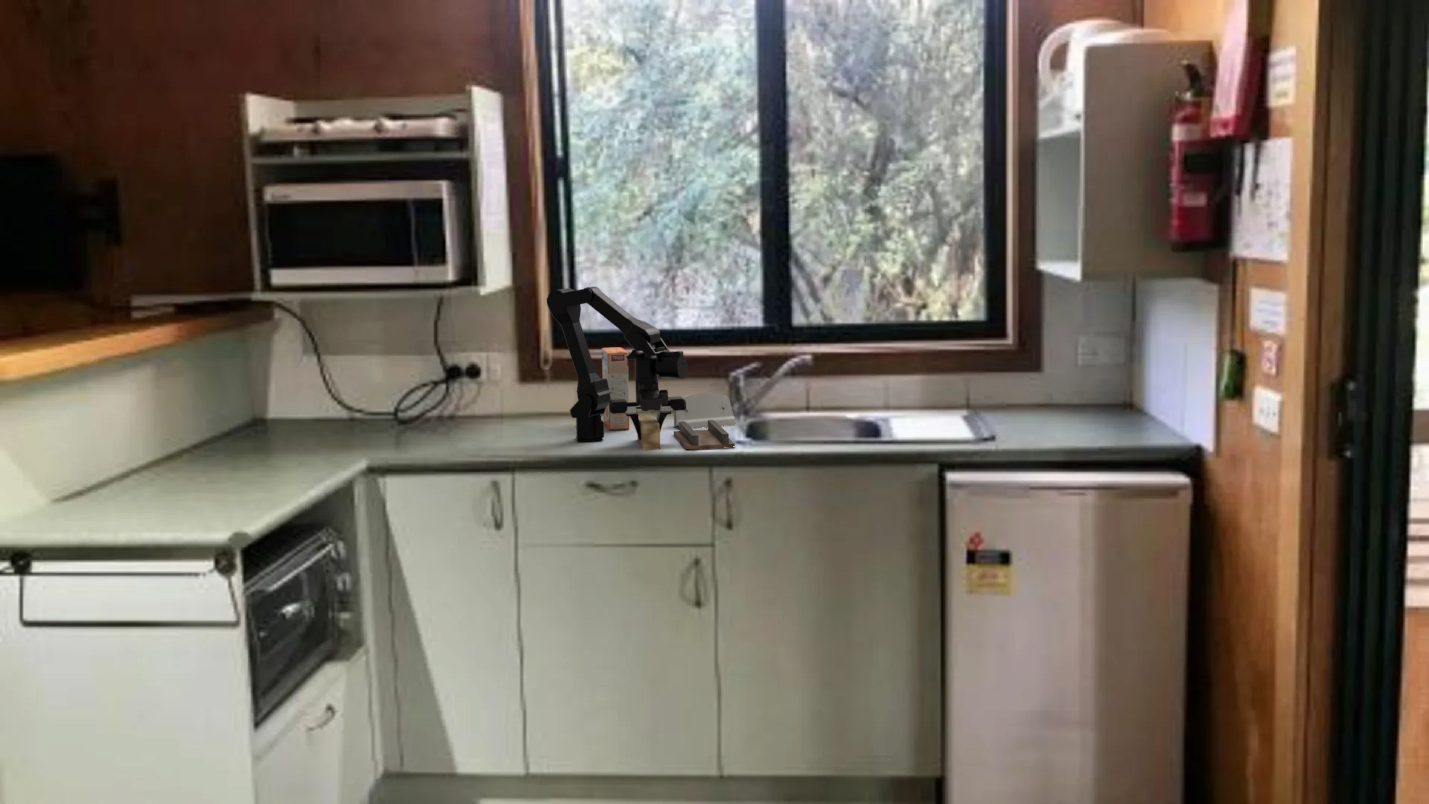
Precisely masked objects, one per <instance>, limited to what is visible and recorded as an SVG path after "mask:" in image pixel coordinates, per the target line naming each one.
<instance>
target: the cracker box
mask: <svg viewBox="0 0 1429 804" xmlns="http://www.w3.org/2000/svg"><path fill="white" fill-rule="evenodd" d="M628 355H629V352H628V351H626V350H625V349H624V348H623V347H618V346H617V347H615V346H612V347H602V348H601V358H602V359H601V361H602V362H601V366H602V367H601V369H602V370H601V371H602V379H604V378H606V379H607V381H608V386H609V389H610V391H611V392H612V393H611V394H610V397H611V400H615V399H625V400H626V402H630V398H629V397H630V390H629V359H627V358H626V357H627V356H628ZM602 416H603V422H604V426H606V427H607V429H608V430H609V431H620V430H622V431H623V430H629V429H630V416H626V415H625V413H618V414H612V413H611V412H610V411H609V405H608V406H607V407H606V410H605V413H604V414H602Z"/></svg>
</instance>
